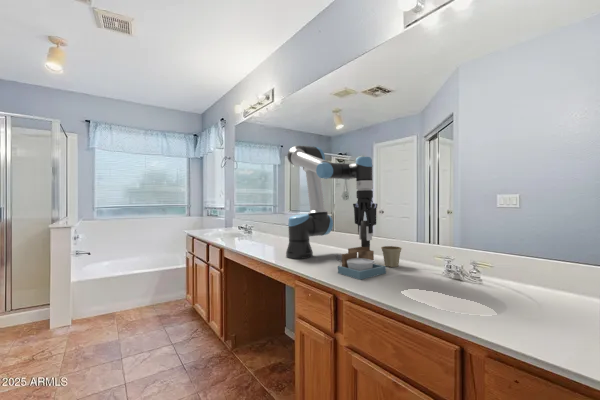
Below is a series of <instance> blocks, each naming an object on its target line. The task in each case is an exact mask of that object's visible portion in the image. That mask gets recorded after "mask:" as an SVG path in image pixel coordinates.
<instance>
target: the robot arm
mask: <svg viewBox="0 0 600 400" xmlns="http://www.w3.org/2000/svg"><path fill="white" fill-rule="evenodd" d="M286 156H287V157H286V158H287V160H288V162H289V163H290V164H291V165H294V166H296V167H299V166H300V167H301V168H302V170H303V171H304V172H305V177H306V184H307V185H306V186H307V193H308V204H309V212H308V213H304V214H303V213H302V214H301V213H300V214H296V215H292V216H289V218H288V225H287V226H288V245H287V248H286V252H285V257H286V258H289V259H294V260H295V259H309V258H313V256H314V254H313V253H314V252H313V249H312V248H313V247H312V246H311V245H312V244H311V243H310V237H317V236H319V237H320V236H322V237H323V236H327V235H329V234H330V233H331V231H332V230H333V225H334V221H333V218H332V216H331V215H329V213H328V211H327V210H326V208H325V203H324V202H325V201H324V193H323V187H322V179H324V180H325V179H326V180H327V179H333V180H335V179H339V180H353V179H355V183H356V184H355V185H356V199H357V201H356V203H353V204H352V207H353V213H354V224H355V225H357V226H358V227H357V228H358V229H357V231H358V237H359V238H358V240H360V241H361V221H364V218H366V221H367V224H368V225H367V226H366V231H367V241H369V240H370V241H373V233H374V232H373V231H374V230H373V227H374V226H375V225H377V208H378V203H375V202H373V198H374V193H373V192H374V191H373V188H374V185H373V183H374V182H373V167H374V165H373V158H372V157H371V156H358V157H356V159H355V162H354V163H352V162H351V163H343V162H342V163H340V162H339V163H337V162H330V161H328V160H326V156H325V152H324V151H323V149H322V148H320V147H318V146H311V145H310V146H307V145H294V146H292V147H291V148H290V149H289V150H288V152H287V155H286ZM365 216H366V217H365Z"/></svg>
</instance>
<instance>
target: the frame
mask: <svg viewBox="0 0 600 400" xmlns="http://www.w3.org/2000/svg"><path fill="white" fill-rule="evenodd" d="M386 267H387V266H385V265H382V264H377V263H373V267H372V269H367V270H363V271H357V270H353V269H350V268H346V267H342V265H338V266H337V274H341V275H343V276H347V277H349V278H352V279H357V280H363V279H368V278H371V277H372V278H373V277H376V276H379V275H385V274H387V270H386Z"/></svg>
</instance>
